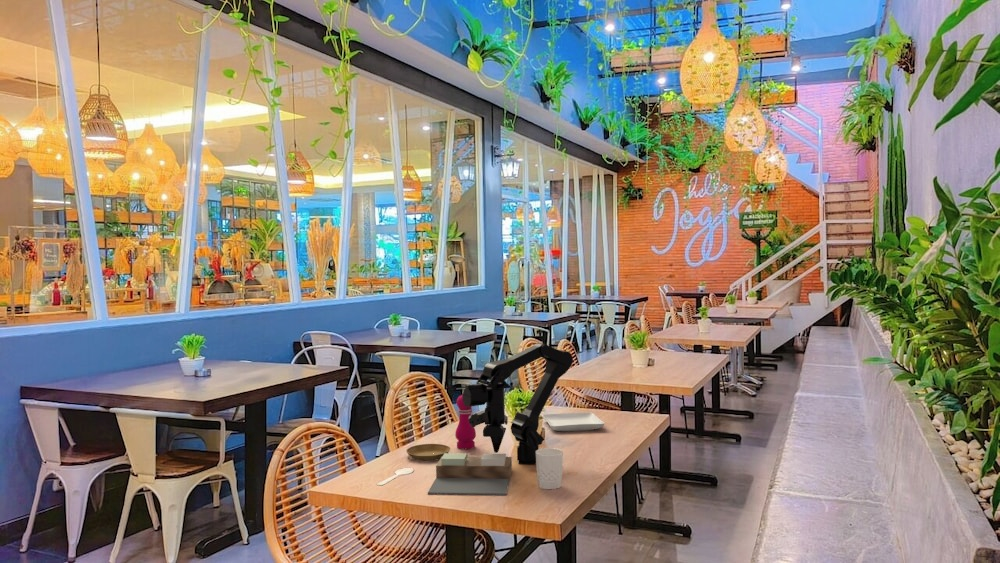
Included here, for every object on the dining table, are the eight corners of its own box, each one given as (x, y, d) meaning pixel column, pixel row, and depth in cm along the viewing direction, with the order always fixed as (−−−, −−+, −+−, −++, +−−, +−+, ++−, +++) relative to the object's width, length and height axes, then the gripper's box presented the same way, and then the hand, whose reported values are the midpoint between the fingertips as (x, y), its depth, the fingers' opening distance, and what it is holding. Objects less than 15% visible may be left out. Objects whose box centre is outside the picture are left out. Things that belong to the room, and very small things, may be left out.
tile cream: (505, 460, 210) (505, 453, 210) (504, 466, 204) (504, 459, 204) (483, 460, 210) (483, 453, 210) (481, 465, 204) (480, 459, 204)
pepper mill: (452, 448, 239) (451, 391, 238) (460, 443, 245) (460, 388, 245) (470, 450, 236) (469, 392, 236) (479, 445, 243) (478, 389, 242)
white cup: (555, 492, 192) (555, 456, 192) (531, 487, 196) (530, 453, 196) (568, 484, 199) (567, 450, 198) (544, 480, 203) (543, 446, 202)
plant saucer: (434, 465, 220) (434, 457, 220) (397, 459, 227) (397, 452, 227) (458, 454, 233) (458, 446, 233) (423, 449, 240) (423, 441, 240)
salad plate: (541, 421, 279) (541, 413, 279) (592, 419, 281) (592, 411, 281) (550, 434, 258) (550, 425, 258) (605, 432, 260) (605, 423, 260)
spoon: (370, 485, 201) (370, 483, 201) (403, 468, 218) (403, 466, 218) (386, 487, 199) (386, 485, 199) (418, 470, 215) (418, 468, 215)
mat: (509, 480, 203) (509, 478, 203) (505, 495, 190) (505, 493, 190) (436, 479, 205) (436, 477, 205) (427, 494, 192) (427, 492, 192)
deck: (511, 469, 213) (511, 457, 213) (509, 479, 203) (509, 466, 203) (442, 469, 215) (441, 456, 215) (436, 479, 205) (436, 465, 205)
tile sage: (467, 459, 211) (467, 453, 211) (464, 465, 205) (464, 458, 205) (444, 459, 211) (444, 453, 211) (441, 465, 205) (441, 458, 205)
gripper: (473, 397, 225) (474, 444, 226) (466, 409, 207) (466, 460, 207) (507, 397, 224) (508, 444, 225) (502, 409, 206) (503, 461, 206)
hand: (496, 452), depth 216 cm, fingers closed
